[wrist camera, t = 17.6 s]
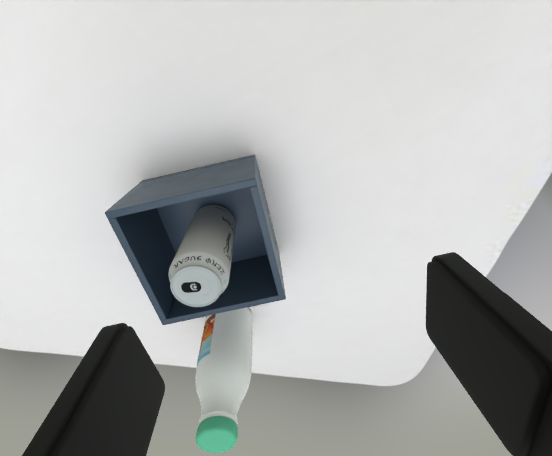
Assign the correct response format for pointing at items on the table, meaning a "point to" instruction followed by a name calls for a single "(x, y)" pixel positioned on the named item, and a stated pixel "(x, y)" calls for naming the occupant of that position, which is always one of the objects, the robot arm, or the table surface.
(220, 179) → the open storage box
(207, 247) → the energy drink can
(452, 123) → the table surface
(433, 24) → the table surface
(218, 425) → the milk bottle
